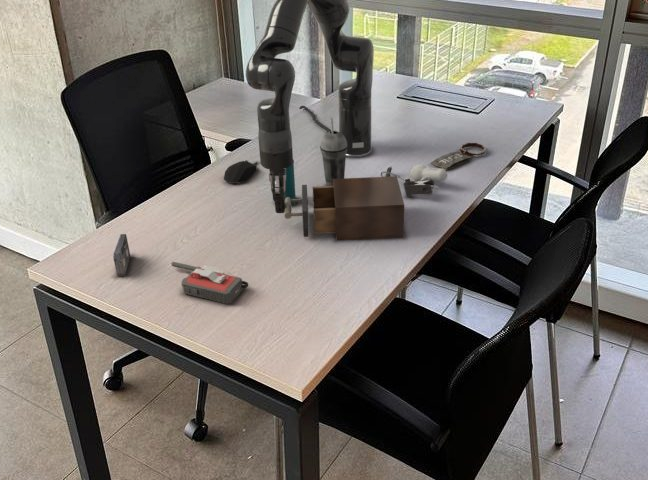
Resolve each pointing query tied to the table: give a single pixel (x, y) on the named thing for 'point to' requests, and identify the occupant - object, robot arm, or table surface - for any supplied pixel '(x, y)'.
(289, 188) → the tin
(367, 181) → the cabinet
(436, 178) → the clip-on lamp
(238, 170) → the gaming mouse
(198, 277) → the walkie-talkie
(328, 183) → the beverage cup
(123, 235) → the mini dv tape
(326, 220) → the drawer
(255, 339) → the table surface
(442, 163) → the keychain
